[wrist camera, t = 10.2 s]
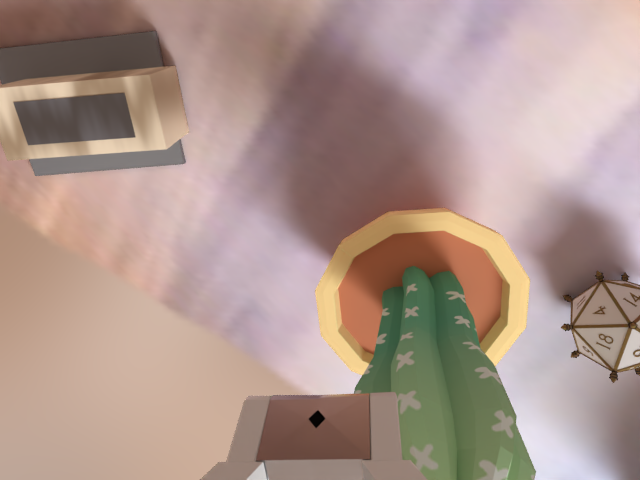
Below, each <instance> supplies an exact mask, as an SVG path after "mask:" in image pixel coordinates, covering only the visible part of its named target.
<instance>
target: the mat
mask: <svg viewBox="0 0 640 480" xmlns="http://www.w3.org/2000/svg"><path fill="white" fill-rule="evenodd" d="M154 67H164V64H163V60H162V55H161V51H160V47H159V42H158V38H157V33H156V31H150V32H141V33H133V34H124V35H115V36H106V37H97V38H89V39H80V40H71V41H62V42H53V43H45V44H36V45H27V46H18V47H9V48H1V49H0V80H1V83H2V85H3V84H7V83H11V82H16V81H20V80H24V79H32V78H43V77H54V76H65V75H76V74H87V73H99V72H110V71H121V70H132V69H143V68H154ZM29 160H30V163H31V166H32V168H33V171H34V174H35V176H42V175H55V174H67V173H79V172H92V171H104V170H116V169H129V168H141V167H153V166H166V165H178V164H184V163H185V162H186V161H185V157H184V153H183V148H182V144H181V139H180V140H178V141H177V142H176V143H174V144H173V145H172V146H170V147H169V148H168V149H164V150H150V151H136V152H122V153H108V154H94V155H80V156H66V157H52V158H38V159H29Z"/></svg>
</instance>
